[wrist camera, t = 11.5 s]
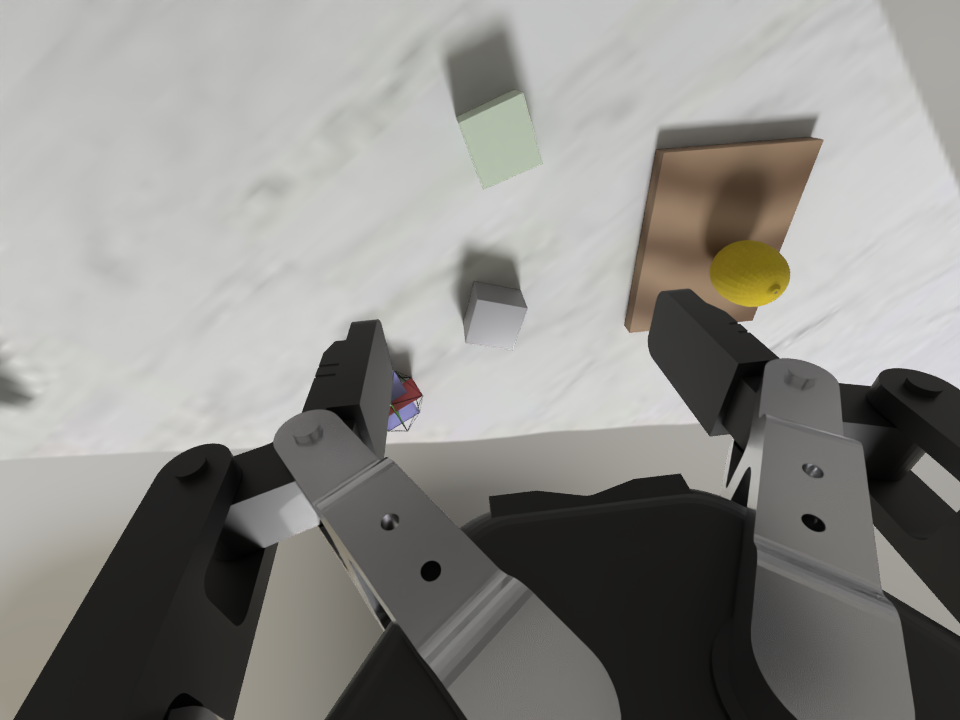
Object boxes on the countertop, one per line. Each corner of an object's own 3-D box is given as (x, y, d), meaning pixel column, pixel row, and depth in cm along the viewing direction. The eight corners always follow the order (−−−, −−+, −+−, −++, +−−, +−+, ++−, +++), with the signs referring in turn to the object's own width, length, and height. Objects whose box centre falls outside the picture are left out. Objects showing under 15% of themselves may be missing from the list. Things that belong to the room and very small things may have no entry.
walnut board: (656, 149, 36) (663, 152, 35) (810, 137, 36) (823, 139, 35) (624, 325, 46) (629, 332, 45) (744, 313, 47) (752, 320, 46)
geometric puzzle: (422, 358, 44) (374, 413, 39) (446, 402, 48) (405, 456, 43) (377, 352, 48) (330, 401, 44) (403, 393, 52) (362, 442, 48)
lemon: (741, 216, 39) (802, 247, 32) (757, 259, 41) (817, 296, 35) (686, 253, 40) (734, 289, 34) (705, 292, 43) (753, 332, 37)
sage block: (455, 116, 33) (458, 123, 30) (514, 89, 32) (523, 92, 29) (478, 178, 36) (483, 189, 33) (532, 153, 35) (542, 163, 32)
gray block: (473, 280, 42) (477, 299, 38) (520, 289, 43) (527, 308, 40) (463, 322, 44) (465, 342, 41) (507, 329, 46) (512, 350, 42)
